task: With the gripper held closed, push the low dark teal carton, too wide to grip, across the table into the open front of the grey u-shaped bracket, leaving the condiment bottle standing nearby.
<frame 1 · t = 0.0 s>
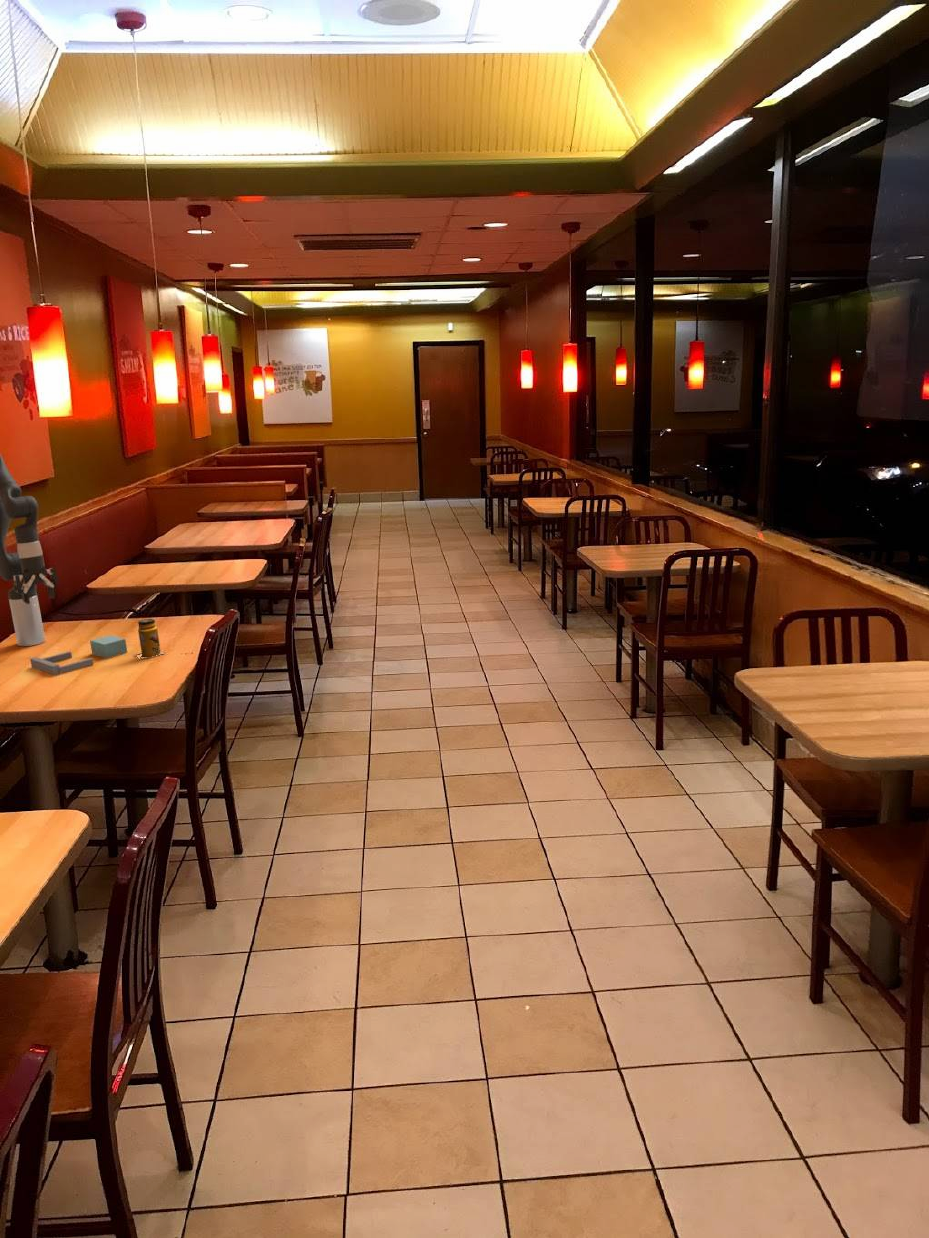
hand: (39, 600, 321), 17 cm above the table, tool pointing down, fingers open, 8 cm apart
grey u-shaped bracket: (67, 664, 304), on the table
carton: (109, 653, 315), on the table
condiment: (148, 655, 309), on the table
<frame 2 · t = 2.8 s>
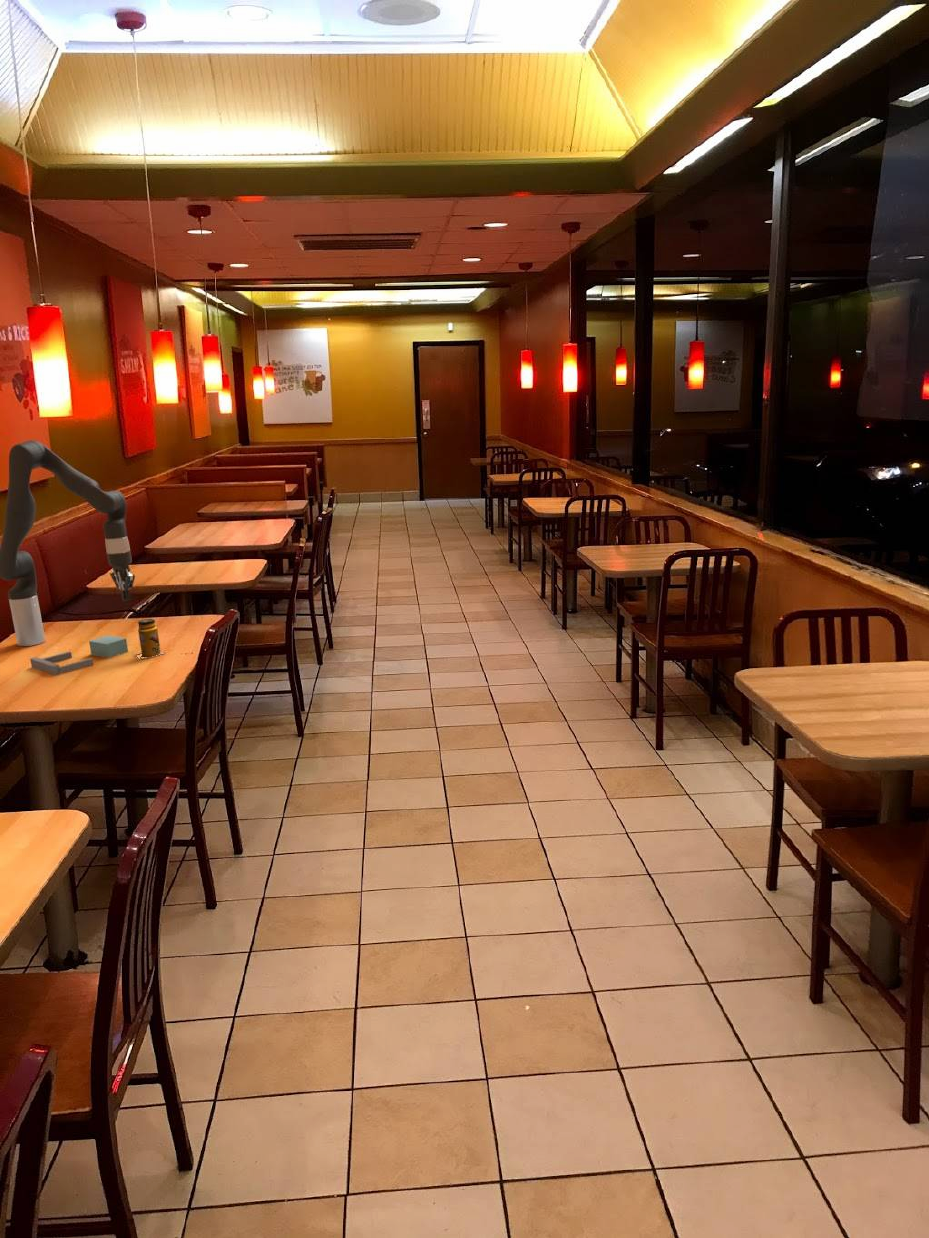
hand: (126, 600, 317), 16 cm above the table, tool pointing down, fingers closed
nothing on the table moved.
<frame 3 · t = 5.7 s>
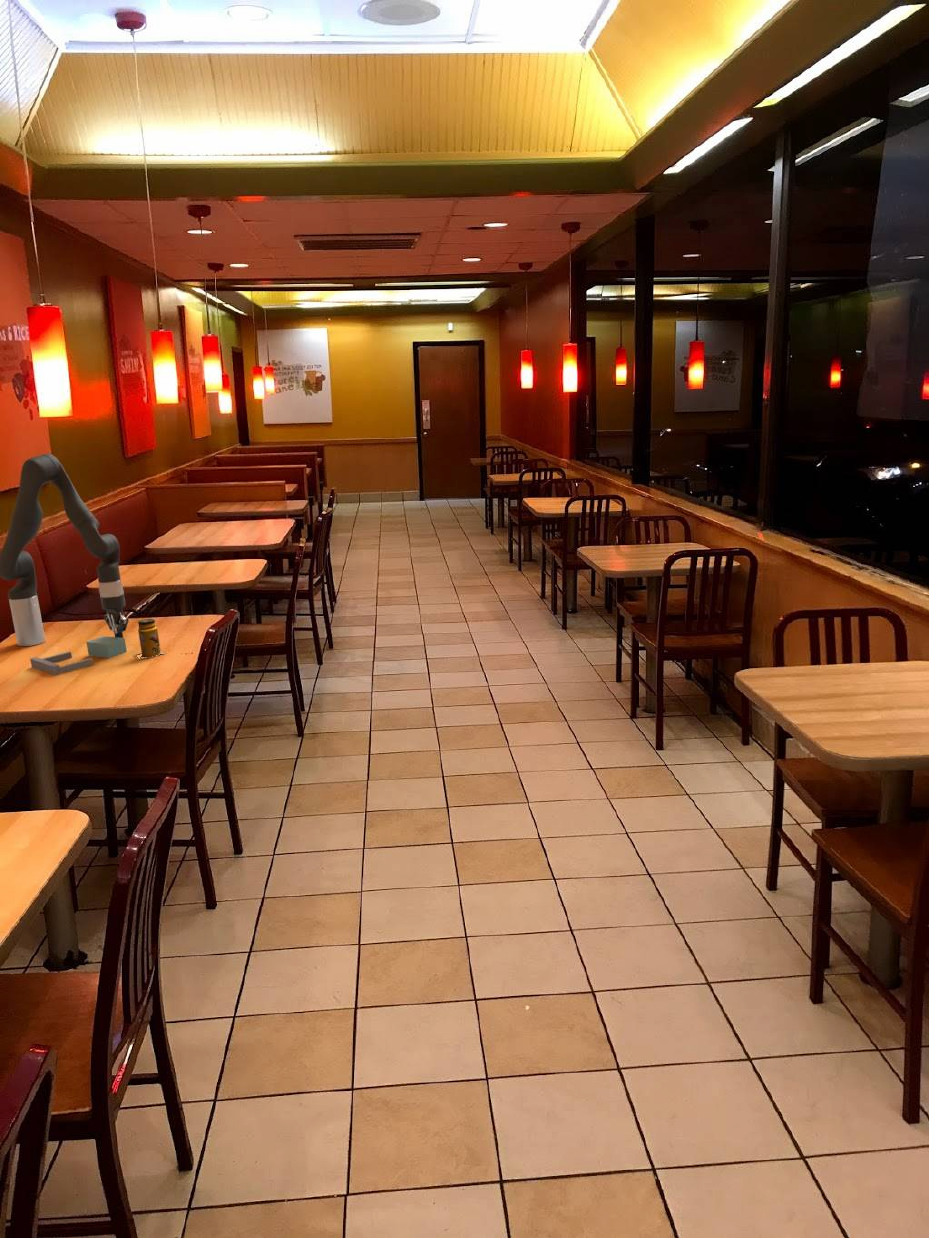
hand: (120, 642, 317), 2 cm above the table, tool pointing down, fingers closed
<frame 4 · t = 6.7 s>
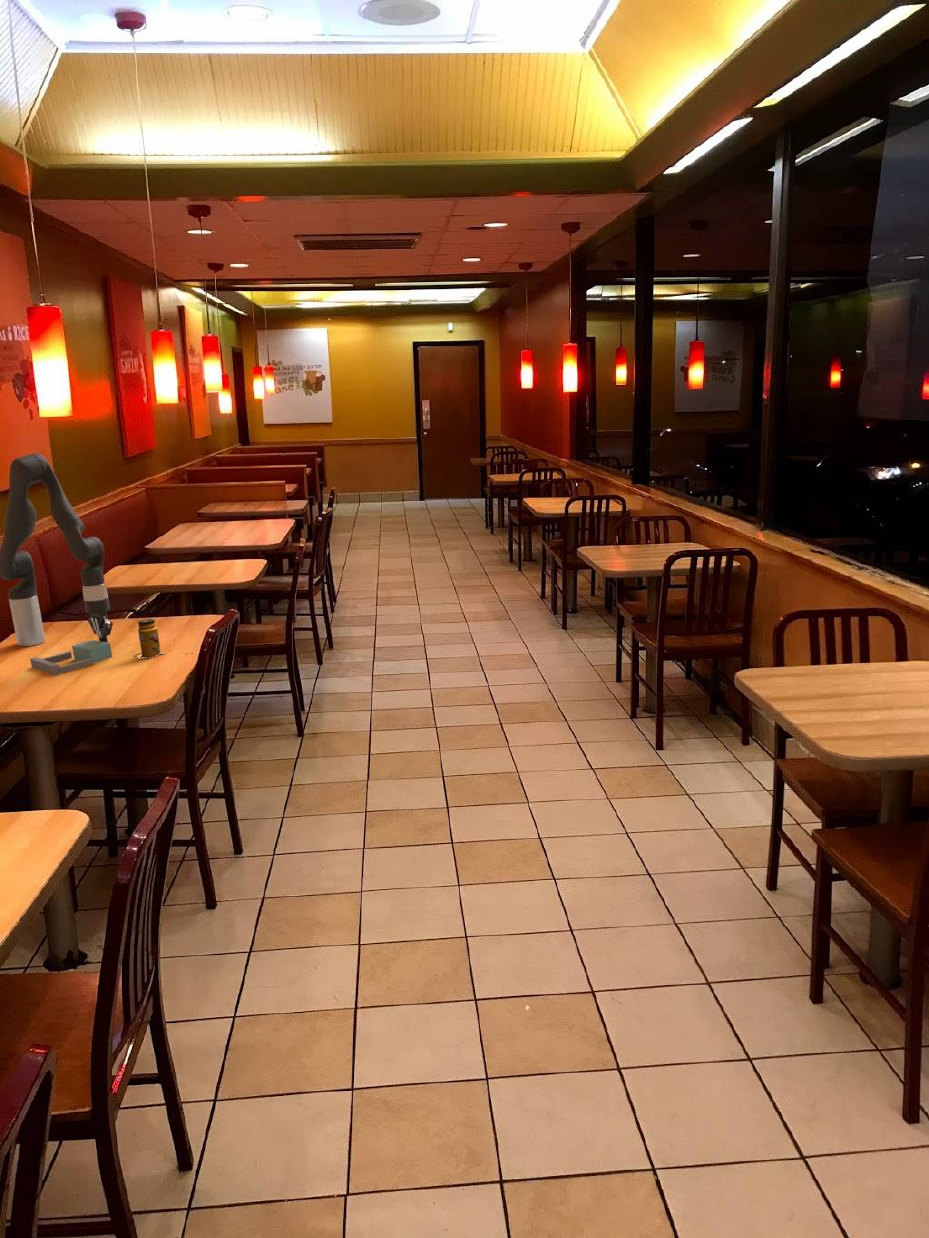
hand: (104, 647, 313), 2 cm above the table, tool pointing down, fingers closed
carton: (93, 658, 310), on the table, touching gripper
everything else where it was.
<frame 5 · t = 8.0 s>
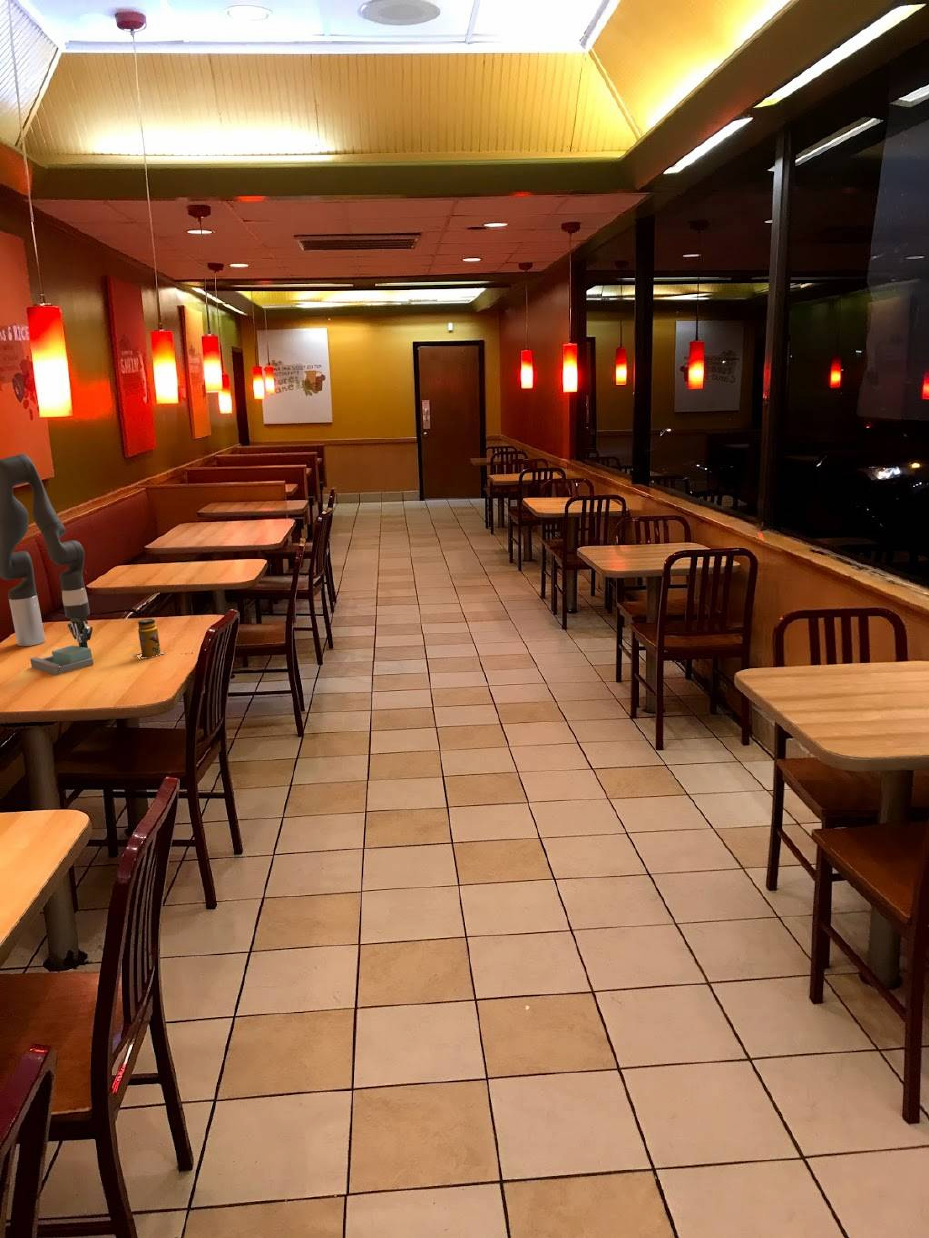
hand: (84, 652, 308), 3 cm above the table, tool pointing down, fingers closed
carton: (73, 664, 304), on the table
everything else where it was.
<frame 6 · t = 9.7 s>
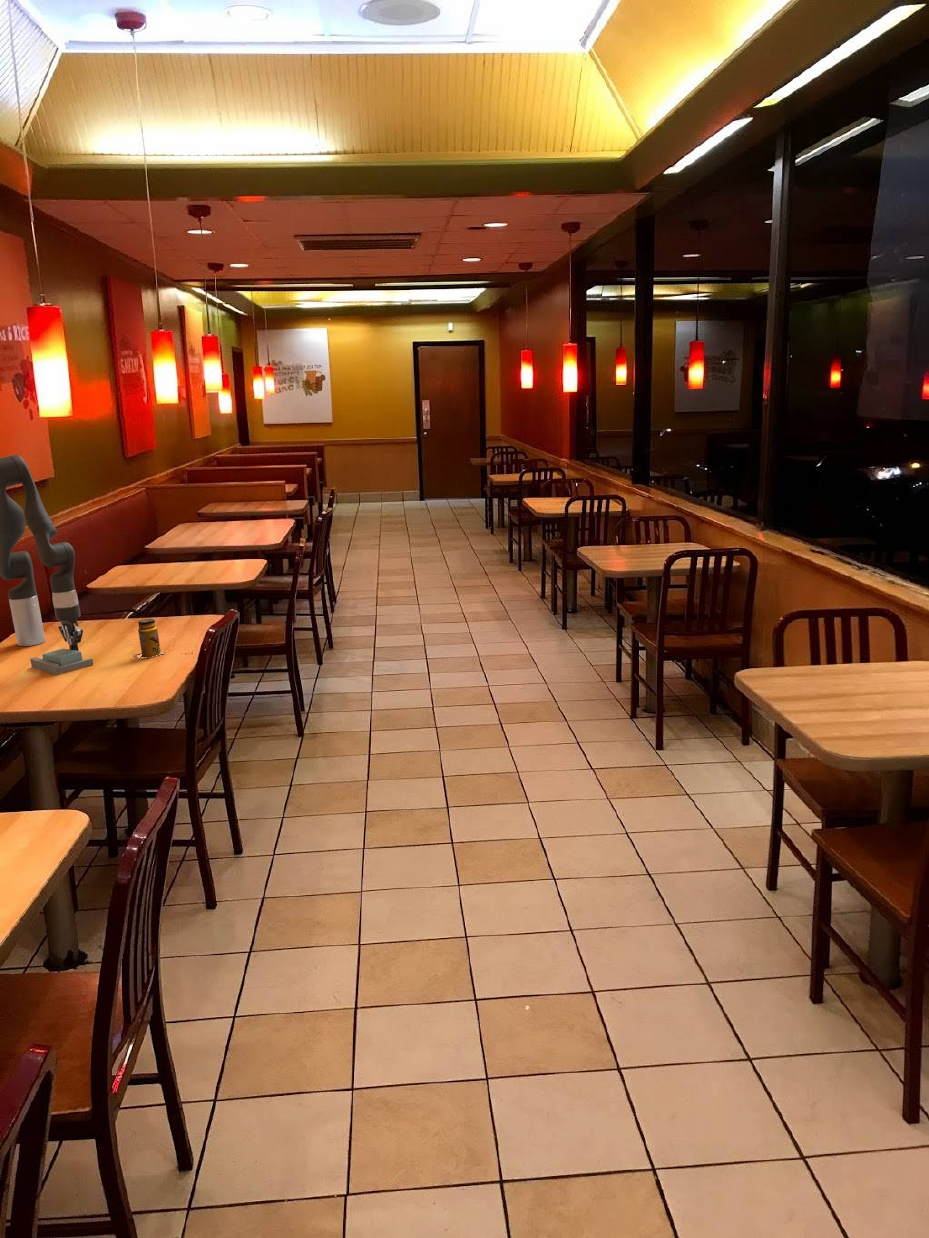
hand: (75, 654, 306), 3 cm above the table, tool pointing down, fingers closed
carton: (64, 667, 302), on the table
everything else where it was.
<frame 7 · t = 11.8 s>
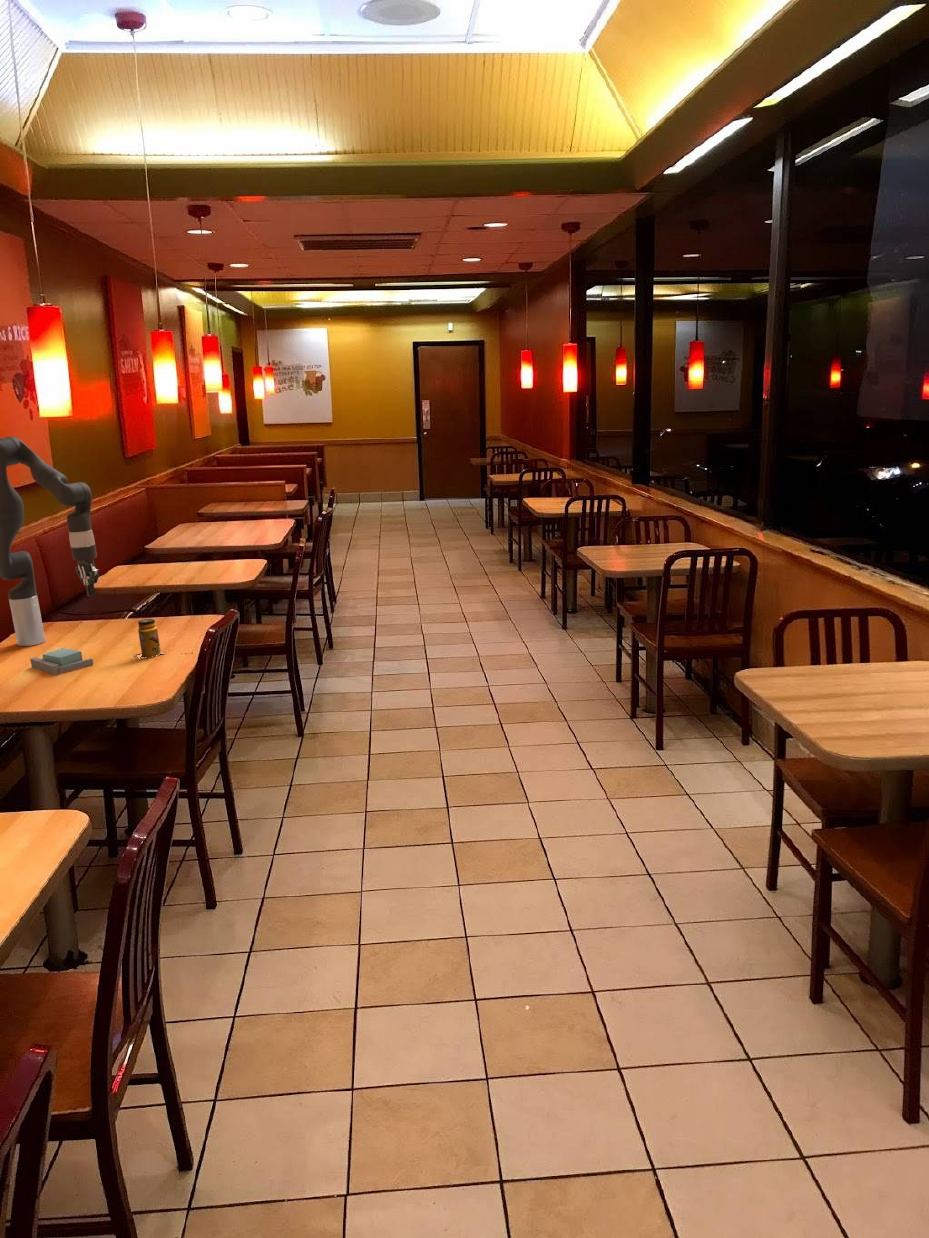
hand: (91, 595, 307), 21 cm above the table, tool pointing down, fingers closed
nothing on the table moved.
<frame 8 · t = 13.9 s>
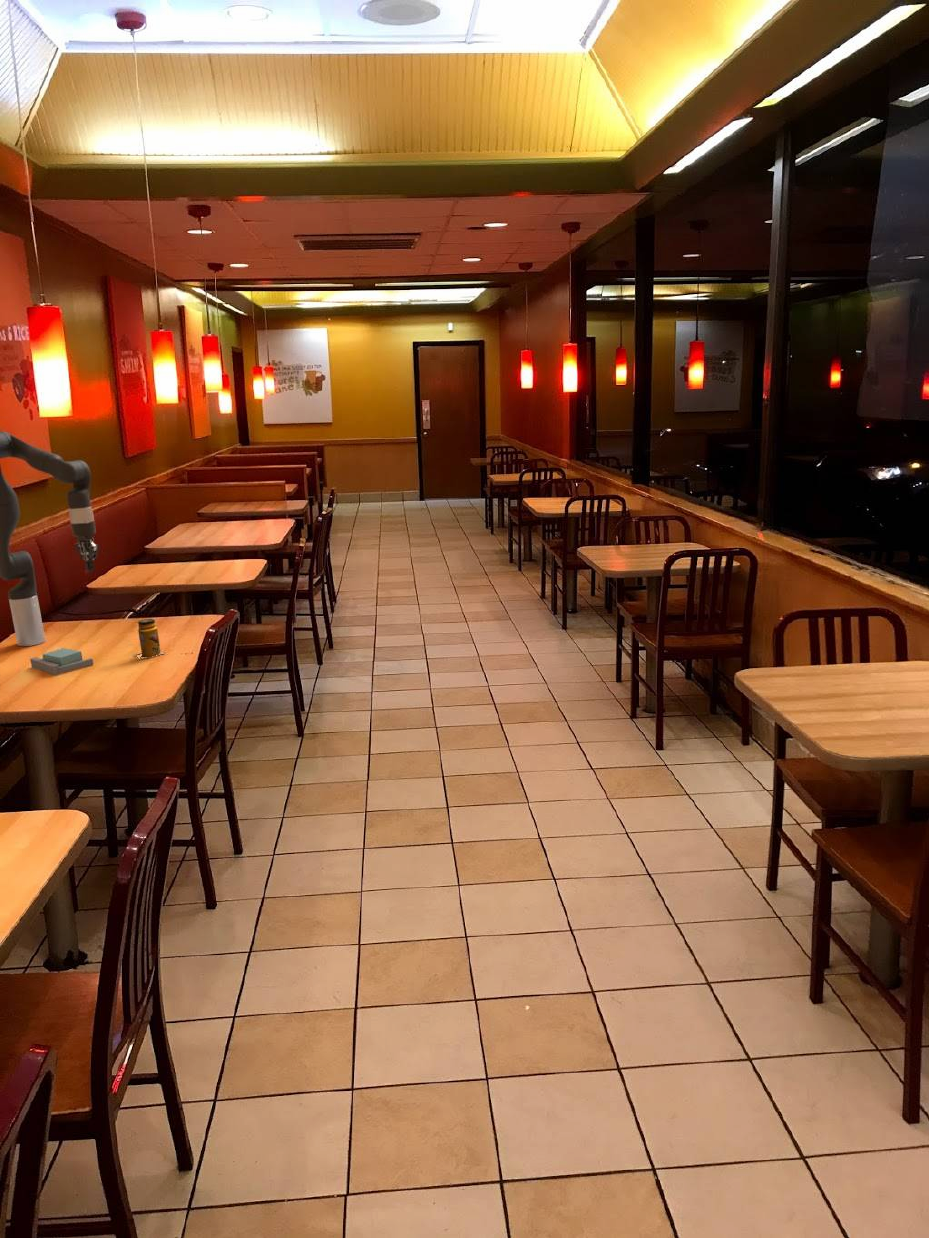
hand: (90, 571, 316), 27 cm above the table, tool pointing down, fingers closed
nothing on the table moved.
at the end: carton 1.4 cm from the target spot on the grey u-shaped bracket, point 0.0 cm above the grey u-shaped bracket's base; carton tilted 0° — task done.
